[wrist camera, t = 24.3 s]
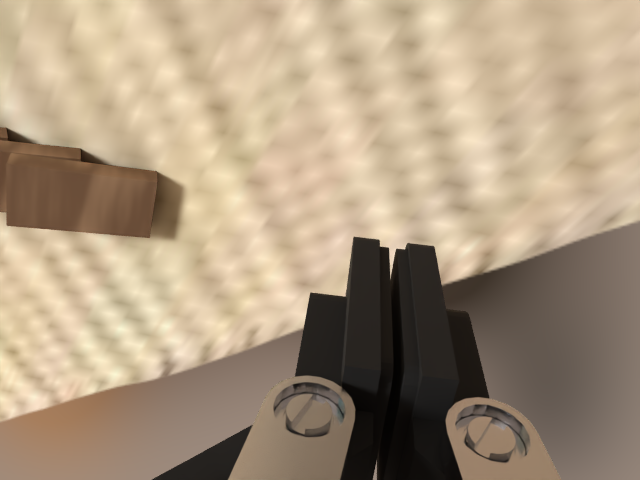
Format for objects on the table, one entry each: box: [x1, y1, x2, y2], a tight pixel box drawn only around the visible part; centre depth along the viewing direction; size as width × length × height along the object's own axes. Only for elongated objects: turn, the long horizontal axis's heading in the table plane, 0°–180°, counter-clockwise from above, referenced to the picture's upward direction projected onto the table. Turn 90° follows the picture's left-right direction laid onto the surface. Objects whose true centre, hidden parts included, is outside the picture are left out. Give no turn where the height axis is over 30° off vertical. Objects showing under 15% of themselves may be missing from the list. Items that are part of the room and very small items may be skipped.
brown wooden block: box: [6, 153, 157, 238], centre depth 42 cm, size 2×5×10 cm
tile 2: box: [0, 140, 81, 212], centre depth 41 cm, size 2×5×10 cm
